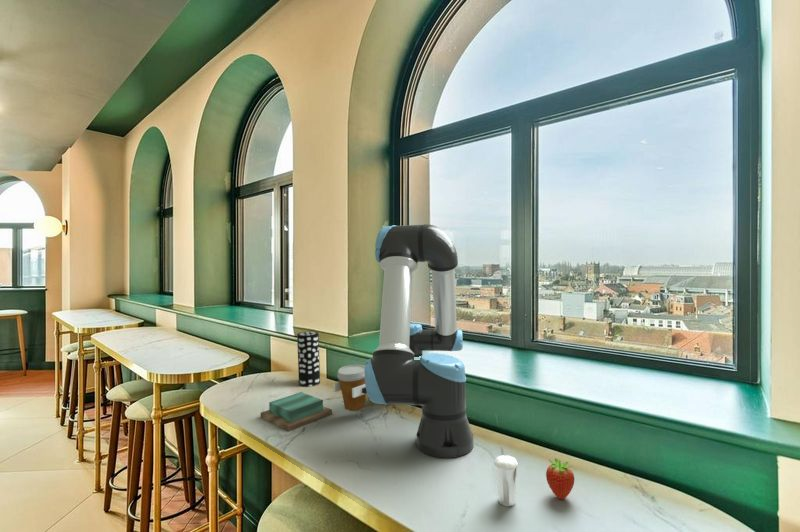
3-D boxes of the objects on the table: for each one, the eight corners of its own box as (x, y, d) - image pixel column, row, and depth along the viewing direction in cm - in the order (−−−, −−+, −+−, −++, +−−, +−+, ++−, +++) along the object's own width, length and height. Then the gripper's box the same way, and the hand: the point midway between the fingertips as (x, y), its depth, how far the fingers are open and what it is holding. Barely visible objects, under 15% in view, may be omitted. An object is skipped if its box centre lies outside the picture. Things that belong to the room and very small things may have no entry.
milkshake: (513, 492, 86) (512, 445, 85) (521, 508, 80) (520, 458, 80) (491, 493, 85) (490, 446, 85) (498, 509, 80) (497, 459, 80)
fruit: (548, 503, 81) (548, 464, 81) (544, 489, 86) (543, 452, 86) (577, 506, 80) (576, 466, 80) (571, 491, 85) (570, 453, 85)
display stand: (332, 414, 130) (331, 399, 130) (288, 431, 118) (288, 415, 118) (303, 402, 141) (302, 389, 141) (260, 417, 129) (260, 402, 129)
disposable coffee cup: (376, 404, 128) (373, 367, 126) (354, 416, 120) (351, 377, 119) (355, 397, 134) (352, 362, 133) (333, 408, 127) (330, 371, 125)
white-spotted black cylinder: (298, 381, 165) (296, 332, 164) (319, 379, 167) (317, 330, 167) (299, 387, 157) (297, 336, 156) (321, 385, 159) (319, 334, 159)
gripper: (417, 390, 133) (367, 410, 116) (373, 378, 147) (322, 395, 130) (417, 367, 133) (366, 384, 116) (372, 358, 147) (321, 372, 130)
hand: (343, 390), depth 123 cm, fingers closed on disposable coffee cup, 8 cm apart
